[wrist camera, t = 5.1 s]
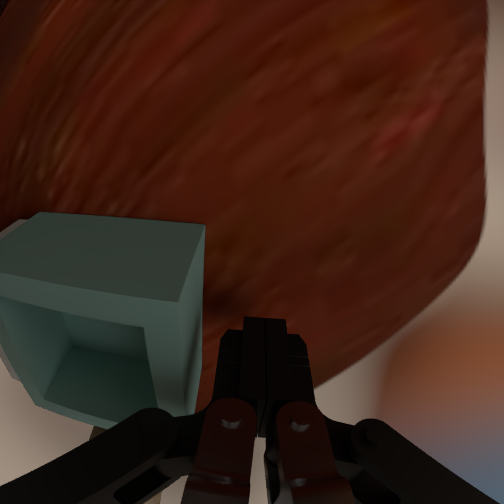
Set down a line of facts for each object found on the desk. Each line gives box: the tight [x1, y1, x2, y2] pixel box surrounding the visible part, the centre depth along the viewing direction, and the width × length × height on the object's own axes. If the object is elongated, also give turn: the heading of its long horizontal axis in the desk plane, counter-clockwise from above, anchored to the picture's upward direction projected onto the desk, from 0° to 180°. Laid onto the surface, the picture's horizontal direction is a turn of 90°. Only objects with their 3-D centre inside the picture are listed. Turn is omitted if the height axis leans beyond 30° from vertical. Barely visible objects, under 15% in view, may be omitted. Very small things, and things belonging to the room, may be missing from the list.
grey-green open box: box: [0, 212, 205, 429], centre depth 10 cm, size 7×7×4 cm
